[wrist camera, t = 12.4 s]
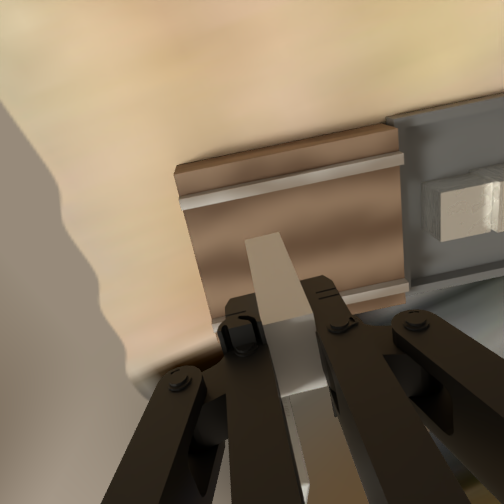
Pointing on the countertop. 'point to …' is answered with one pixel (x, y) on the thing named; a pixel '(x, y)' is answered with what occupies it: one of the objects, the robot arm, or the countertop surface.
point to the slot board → (302, 215)
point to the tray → (442, 166)
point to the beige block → (494, 193)
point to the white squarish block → (456, 206)
